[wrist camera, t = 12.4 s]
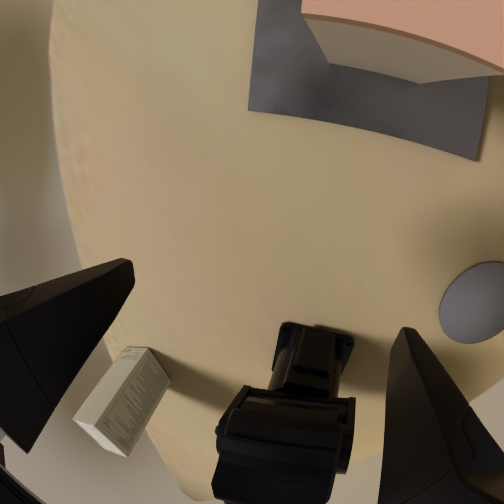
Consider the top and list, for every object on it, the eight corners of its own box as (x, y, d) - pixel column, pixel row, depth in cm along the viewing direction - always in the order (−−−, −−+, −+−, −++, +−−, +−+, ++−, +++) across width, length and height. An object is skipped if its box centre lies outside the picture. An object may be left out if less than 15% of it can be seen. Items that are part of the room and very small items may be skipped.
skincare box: (124, 345, 36) (69, 416, 26) (150, 346, 34) (92, 425, 24) (149, 380, 38) (103, 449, 28) (174, 383, 36) (128, 459, 26)
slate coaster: (493, 345, 21) (494, 348, 21) (424, 333, 23) (424, 336, 23) (534, 272, 17) (536, 274, 17) (462, 251, 19) (463, 253, 19)
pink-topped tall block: (419, 83, 15) (515, 74, 5) (328, 63, 16) (301, 13, 6) (426, 4, 12) (503, -80, 2) (336, -16, 13) (312, -131, 3)
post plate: (471, 159, 16) (500, 177, 12) (250, 110, 19) (225, 114, 15) (488, -13, 10) (515, -31, 6) (267, -59, 13) (246, -89, 9)
